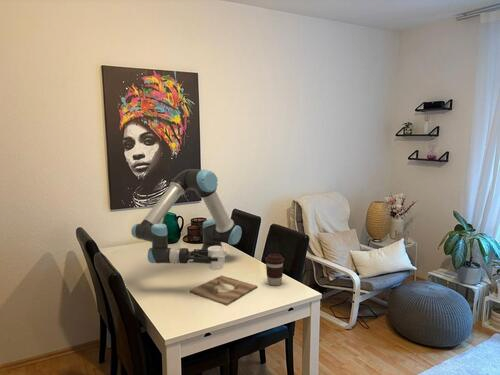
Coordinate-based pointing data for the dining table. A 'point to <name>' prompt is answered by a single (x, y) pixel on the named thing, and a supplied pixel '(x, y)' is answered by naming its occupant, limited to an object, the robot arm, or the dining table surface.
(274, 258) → the coffee cup
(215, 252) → the white cup
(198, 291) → the brown flat square piece
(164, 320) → the dining table surface
